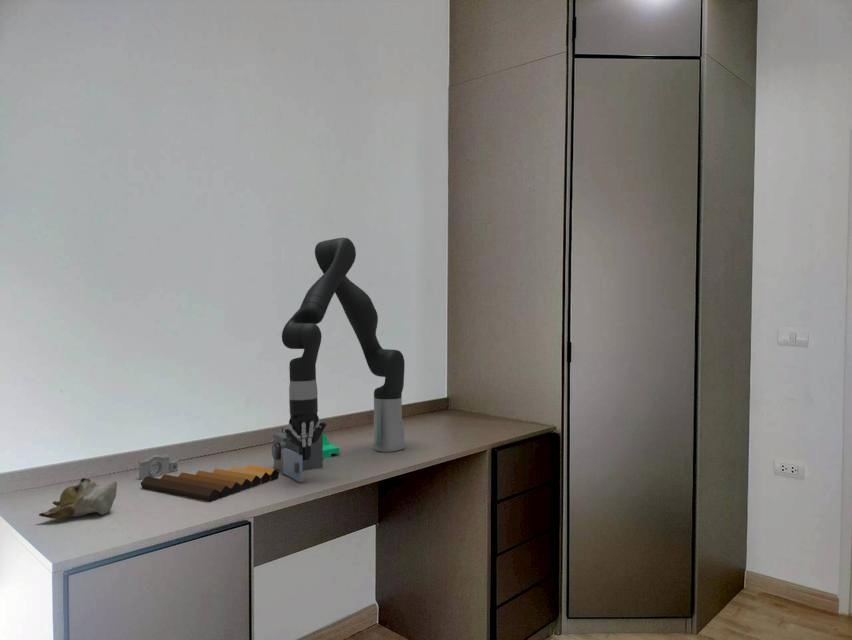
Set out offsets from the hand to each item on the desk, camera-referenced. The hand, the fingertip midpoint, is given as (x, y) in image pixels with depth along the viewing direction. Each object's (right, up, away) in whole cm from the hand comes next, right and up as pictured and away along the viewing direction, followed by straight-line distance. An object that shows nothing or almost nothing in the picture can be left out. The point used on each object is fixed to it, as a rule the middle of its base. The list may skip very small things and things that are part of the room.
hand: (305, 459), depth 173 cm
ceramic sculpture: (-45, -7, -29) cm, 54 cm away
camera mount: (-1, -6, +29) cm, 29 cm away
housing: (-5, -5, +13) cm, 15 cm away
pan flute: (-25, -7, -2) cm, 26 cm away
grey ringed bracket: (-43, -6, +6) cm, 43 cm away
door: (-4, -5, +2) cm, 7 cm away
